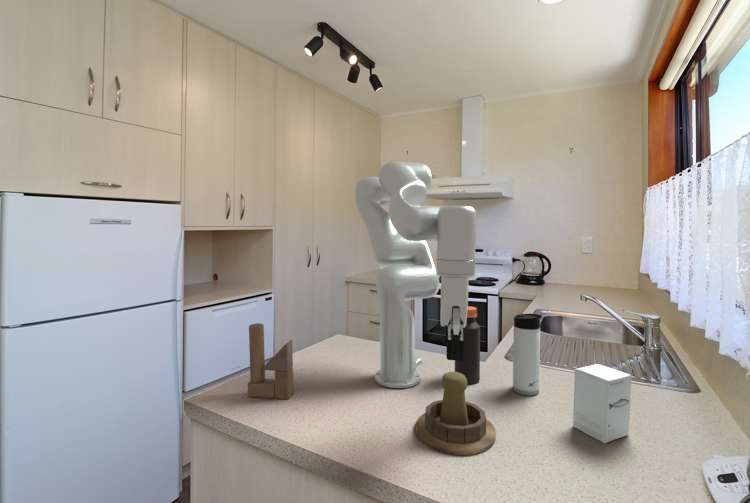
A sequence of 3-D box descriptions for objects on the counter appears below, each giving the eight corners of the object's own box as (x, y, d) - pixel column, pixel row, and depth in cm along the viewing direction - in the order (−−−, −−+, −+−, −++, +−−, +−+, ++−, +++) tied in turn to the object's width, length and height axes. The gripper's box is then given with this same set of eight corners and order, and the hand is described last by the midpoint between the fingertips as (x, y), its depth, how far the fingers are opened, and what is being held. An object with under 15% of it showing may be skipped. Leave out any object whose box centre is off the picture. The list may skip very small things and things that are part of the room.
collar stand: (440, 405, 88) (440, 389, 88) (507, 428, 78) (508, 409, 78) (400, 434, 76) (400, 415, 76) (474, 466, 66) (474, 444, 65)
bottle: (449, 379, 103) (450, 308, 102) (462, 372, 108) (462, 304, 107) (472, 386, 98) (472, 311, 97) (484, 379, 103) (485, 307, 102)
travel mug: (538, 398, 92) (539, 317, 90) (510, 392, 95) (511, 314, 94) (542, 388, 97) (543, 312, 96) (515, 383, 100) (516, 309, 99)
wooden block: (288, 400, 92) (286, 328, 91) (247, 397, 93) (245, 326, 92) (293, 393, 95) (292, 324, 94) (254, 391, 97) (252, 322, 96)
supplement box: (605, 445, 72) (607, 380, 71) (571, 426, 79) (573, 367, 78) (630, 436, 75) (632, 374, 74) (595, 419, 82) (597, 362, 81)
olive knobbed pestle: (471, 422, 79) (472, 371, 78) (465, 436, 73) (466, 382, 72) (443, 416, 81) (443, 366, 80) (435, 429, 76) (435, 376, 75)
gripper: (436, 262, 84) (435, 337, 85) (436, 273, 67) (434, 366, 68) (471, 263, 83) (469, 338, 84) (479, 274, 66) (477, 368, 67)
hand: (454, 351), depth 76 cm, fingers open, 9 cm apart
